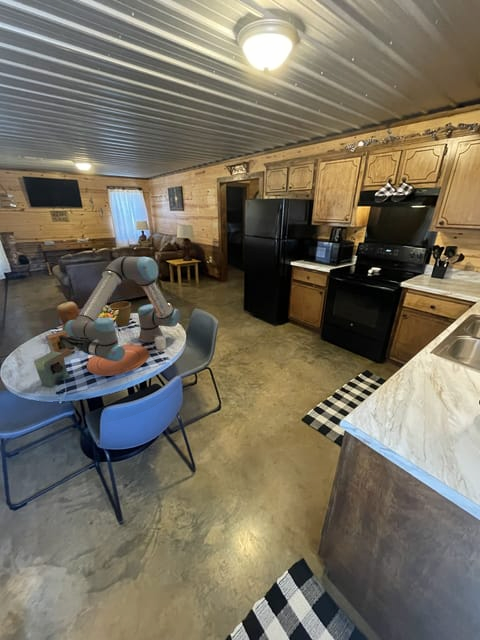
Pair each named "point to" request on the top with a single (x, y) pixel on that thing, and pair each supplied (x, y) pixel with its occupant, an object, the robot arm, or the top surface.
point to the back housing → (54, 341)
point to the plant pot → (122, 312)
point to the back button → (61, 345)
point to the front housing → (45, 370)
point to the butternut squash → (67, 312)
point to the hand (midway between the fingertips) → (61, 338)
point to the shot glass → (160, 342)
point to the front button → (57, 368)
